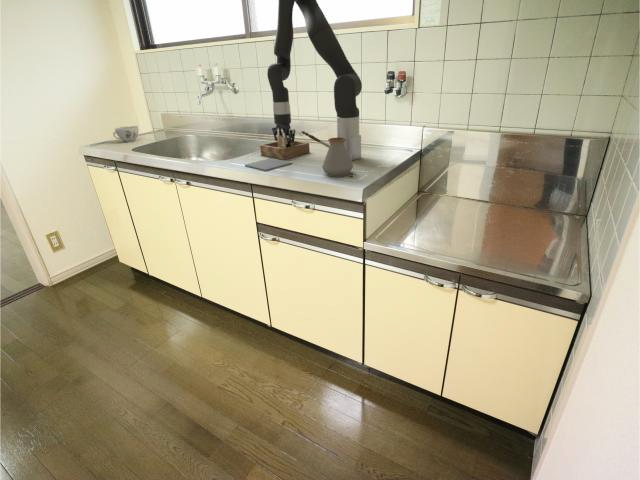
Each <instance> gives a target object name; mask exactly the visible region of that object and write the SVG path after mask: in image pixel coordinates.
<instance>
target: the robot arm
mask: <svg viewBox="0 0 640 480" xmlns="http://www.w3.org/2000/svg"><path fill="white" fill-rule="evenodd" d="M295 3H296V5H297V7H298V8H299V10H300V12H301V13H302V16H303V19H304V22H305V27H306V28H305V29H306V32H307V37H308V38H309V40H310V41H311V42H310V43H311V44H312V46H313V48H314V49H315V51H316V52H317V54H318V55H319V56H320V57H321V59H322V60H324V62H325V63H326V64H327V65H328V66H329V67H330V69H332V72H334V75H335V76H336V79H335V81H334V85H333V97H334V99H333V101H334V110H335V112H336V133H337V134H336V138H339V137H342V138H345V139H346V140H345V143H344V146H345V148H346V150H347V152H348V155H349V157H350V159H351V162H352V161H356V160H358V159H361V158H362V135H360V109H359V107H358V106H357V97H358V96H359V95H360V94H361V92H362V87H363V86H362V85H363V84H362V80H361V79H360V78H361V77H360V76H359V75H358V74H357V72H356V70H355V69H354V67H353V66H352V64H351V63H350V61H349V60H348V57H346V54H345V52H344V50H343V47H342V45H341V44H340V42H339V40H338V39H337V36H336V34H335V32H334V30H333V28H332V26H331V25H330V22H329V21H328V19H327V17H326V15H325V14H324V11H323V10H322V9H321V7H320V6H319V5H320V4H318V1H317V0H278V10H277V12H278V13H277V26H276V28H277V29H276V33H275V34H276V35H275V40H274V47H273V54H274V56H276V63H271V64H270V65H269V66H268V68H267V73H266V75H267V79H268V84H269V86H270V89H271V92H272V93H271V94H272V107H273V108H272V112H273V123H274V124H275V127H272V128H271V130H272V133H273V137H274V142H276V141H277V137H278V136H283V137H284V138H285V140H286V148H287V147H291V143H292V142H294V141H295V137H296V129H295V128H294V129H293V128H292V127H291V123H292V115H291V113H292V112H291V105H290V98H289V90H288V88H287V87H285V86H284V81H285V80H287V79H288V78H289V76H290V74H291V69H292V67H291V59H292V58H291V53H292V49H293V42H294V24H293V12H294V6H295ZM286 136H287V137H286ZM287 138H289V140H288V139H287ZM277 142H278V141H277Z"/></svg>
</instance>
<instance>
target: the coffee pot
mask: <svg viewBox="0 0 640 480" xmlns="http://www.w3.org/2000/svg"><path fill="white" fill-rule="evenodd" d="M303 135H305V136H306V137H308V138H310V139H311V140H313V141H316V142H317V143H319V144H321V145H323V146H325V147H327V148H328V150H327V151H326V152H327V153H326V155H325V158H324V160H323V164H322V165H321V168H322V170H323V172H324V173H326V174H327V175H328V176H329V177H334V178H335V177H336V178H337V177H338V178H339V177H344V176H348V175H349V173H351V171H352V170H353V168H354V164H353V162H352V161H351V159H350V157H349V155H348V152H347V150H346V148H345V146H344V143H345V140H346V139H345V138H342V137H339V138H337V137H331V138H328V142H329V144H328V143H326V142H323V141H322V140H321V139H319V138H318V137H315V136H314V135H312V134H310V133H308V132H306V131H303V130H302V131H301V132H300V134H299V137H302V136H303Z"/></svg>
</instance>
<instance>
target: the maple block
mask: <svg viewBox="0 0 640 480" xmlns="http://www.w3.org/2000/svg"><path fill="white" fill-rule="evenodd" d="M276 137H277V136H276ZM286 137H287V136H286ZM287 139H288V140H289V138H287ZM277 141H278V148H286V140H285V138H284V137H283V136H278V137H277ZM291 146H292V143H291Z"/></svg>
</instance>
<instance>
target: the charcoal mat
mask: <svg viewBox="0 0 640 480" xmlns="http://www.w3.org/2000/svg"><path fill="white" fill-rule="evenodd" d="M292 164H293V162H291V161H287V160H283V159H279V158H274V157H270V158H266V159H262V160H261V159H260V160H258V161H254V162H249V163H247V164H244V167H247V166H248V168H251V167H252V169H254V168H256V170H258V169H259V171H262V170H263V172H269V171H271V170H275V169H280V168H282V167H286V166H290V165H292Z"/></svg>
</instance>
